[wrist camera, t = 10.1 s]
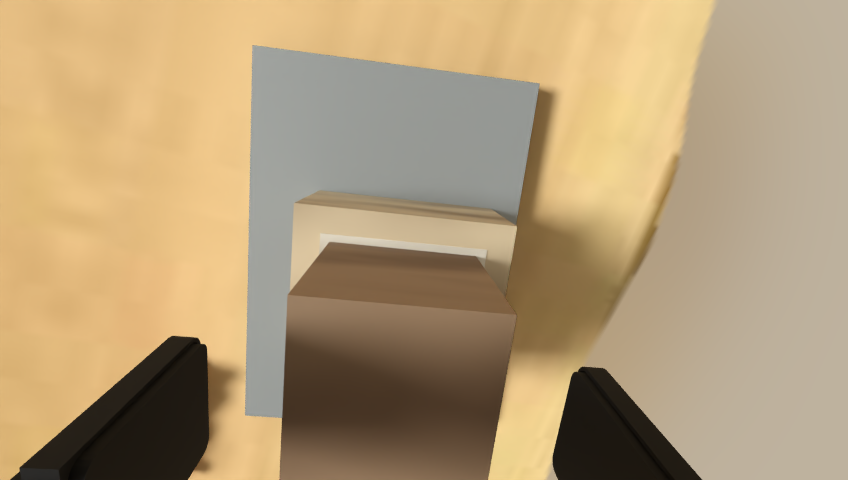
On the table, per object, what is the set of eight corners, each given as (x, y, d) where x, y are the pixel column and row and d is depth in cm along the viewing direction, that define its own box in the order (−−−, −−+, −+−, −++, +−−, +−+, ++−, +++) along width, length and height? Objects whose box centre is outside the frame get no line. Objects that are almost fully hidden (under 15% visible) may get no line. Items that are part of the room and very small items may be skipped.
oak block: (319, 190, 20) (293, 203, 16) (490, 208, 21) (517, 226, 16) (310, 349, 22) (284, 405, 17) (467, 361, 23) (485, 418, 18)
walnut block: (329, 241, 16) (287, 294, 10) (476, 255, 16) (516, 315, 11) (320, 375, 17) (279, 491, 11) (456, 385, 18) (483, 501, 12)
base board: (261, 51, 20) (252, 45, 19) (532, 87, 21) (539, 83, 20) (252, 402, 24) (245, 415, 23) (477, 417, 25) (481, 430, 24)
